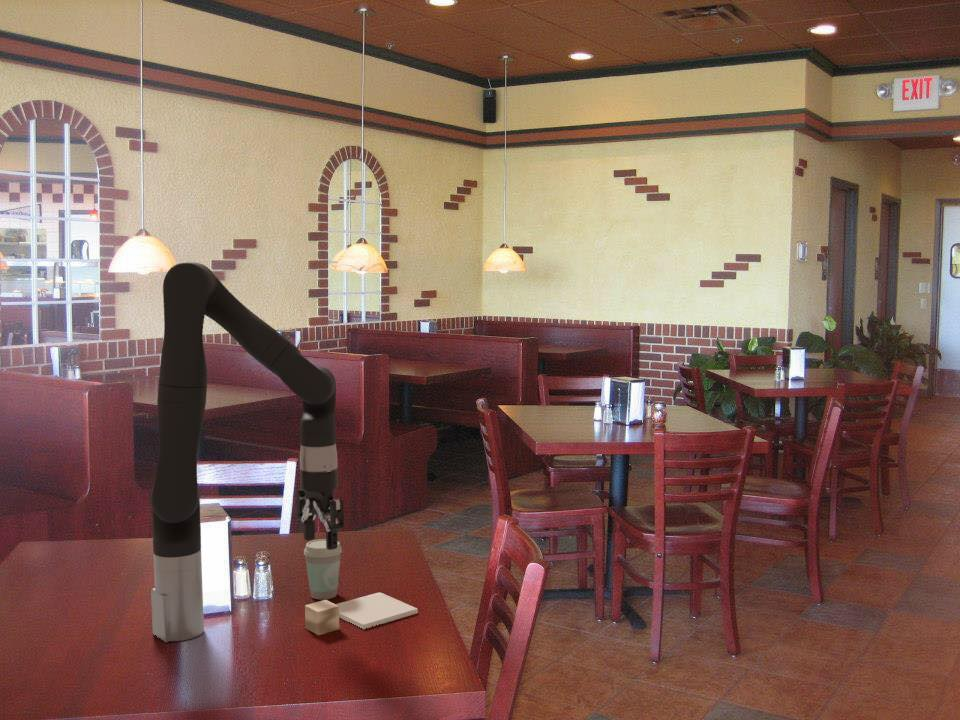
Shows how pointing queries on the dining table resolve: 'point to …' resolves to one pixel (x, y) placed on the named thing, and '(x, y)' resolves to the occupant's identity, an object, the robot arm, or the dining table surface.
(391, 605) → the plate
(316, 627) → the maple cube
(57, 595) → the dining table surface
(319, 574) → the coffee cup
